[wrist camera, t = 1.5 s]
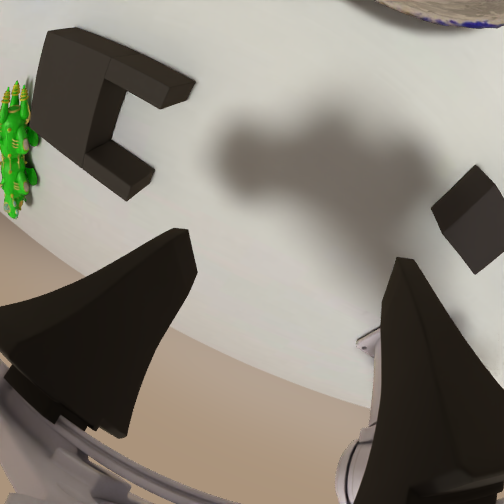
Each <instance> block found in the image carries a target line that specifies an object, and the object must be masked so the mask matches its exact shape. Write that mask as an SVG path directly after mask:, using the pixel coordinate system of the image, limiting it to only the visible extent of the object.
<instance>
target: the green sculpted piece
mask: <svg viewBox="0 0 504 504" xmlns="http://www.w3.org/2000/svg"><path fill="white" fill-rule="evenodd" d="M19 87H20V86H19V83H18V81H16V83H15V84H14V86H13V90H12V93H11V95H12V99H11V103H10V107H9V108H8V103H9V102H10V100H9V99H10V91H9V87H8V89H7V91H6V93H5V94H4V97H3V100H2V101H1V102H2V106H1V109H0V150H1V153H2V158H4V159H2V161H1V162H0V165H1V173H2V181H1V183H0V187H1V188H2V189H3V190H4V192H5V194H4V196H5V199H4V211H5V212H7V213H8V214H9V216H10V217H11V218H14V219H17V218H18V214H19V210H21V206H22V205H23V200H25V202H26V197H25V196H23V195H27V194H28V193H29V185H28V181H29V183H30V184H31V185H33V186H34V185H36V184H37V176H36V172H35V170H34V169H33V168H32V169H31V168H26V167H25V164H27V162H26V161H25V160H24V156H23V155H24V154H27V153H28V151H29V144H30V145H31V146H34V147H35V146H37V144H38V142H39V137H38V134H37V133H36V132H35V131H33V130H32V129H31V128H30V127H29V126H27V125H26V124H28V123H29V119H30V117H29V114H30V116H31V113H30V109H29V105H28V100H27V99H28V98H29V96H27V95H28V93H26V92H27V91H28V90H26V89H27V88H25V85H23V89H22V92H21V95H20V97H21V98H20V101H21V105H20V106H19V95H18V94H19V93H20V88H19ZM28 117H29V119H27V118H28ZM26 130H27V134H26ZM28 141H29V142H28ZM3 156H4V157H3ZM25 170H26V173H27V174H26V173H25ZM27 179H28V181H27ZM18 209H19V210H18Z"/></svg>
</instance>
